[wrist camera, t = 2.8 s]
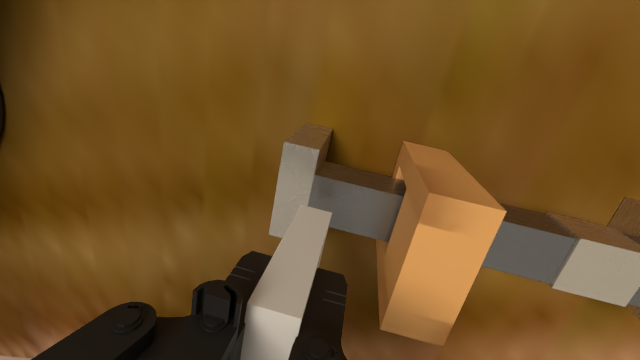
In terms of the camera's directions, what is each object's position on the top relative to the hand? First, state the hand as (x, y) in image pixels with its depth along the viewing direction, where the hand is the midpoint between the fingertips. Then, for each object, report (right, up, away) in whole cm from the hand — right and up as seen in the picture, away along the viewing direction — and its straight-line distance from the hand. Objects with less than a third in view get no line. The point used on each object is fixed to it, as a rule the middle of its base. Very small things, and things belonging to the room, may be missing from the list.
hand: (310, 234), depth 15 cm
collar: (+7, +2, +8) cm, 10 cm away
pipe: (+11, +1, +9) cm, 14 cm away
